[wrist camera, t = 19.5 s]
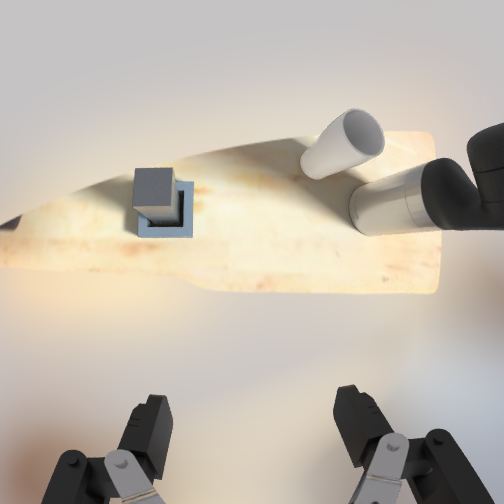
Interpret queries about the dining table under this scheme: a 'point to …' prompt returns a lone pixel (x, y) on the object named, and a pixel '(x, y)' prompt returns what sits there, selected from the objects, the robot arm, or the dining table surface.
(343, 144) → the drinking glass
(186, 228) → the socket block
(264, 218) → the dining table surface
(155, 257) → the dining table surface
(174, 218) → the square bit
